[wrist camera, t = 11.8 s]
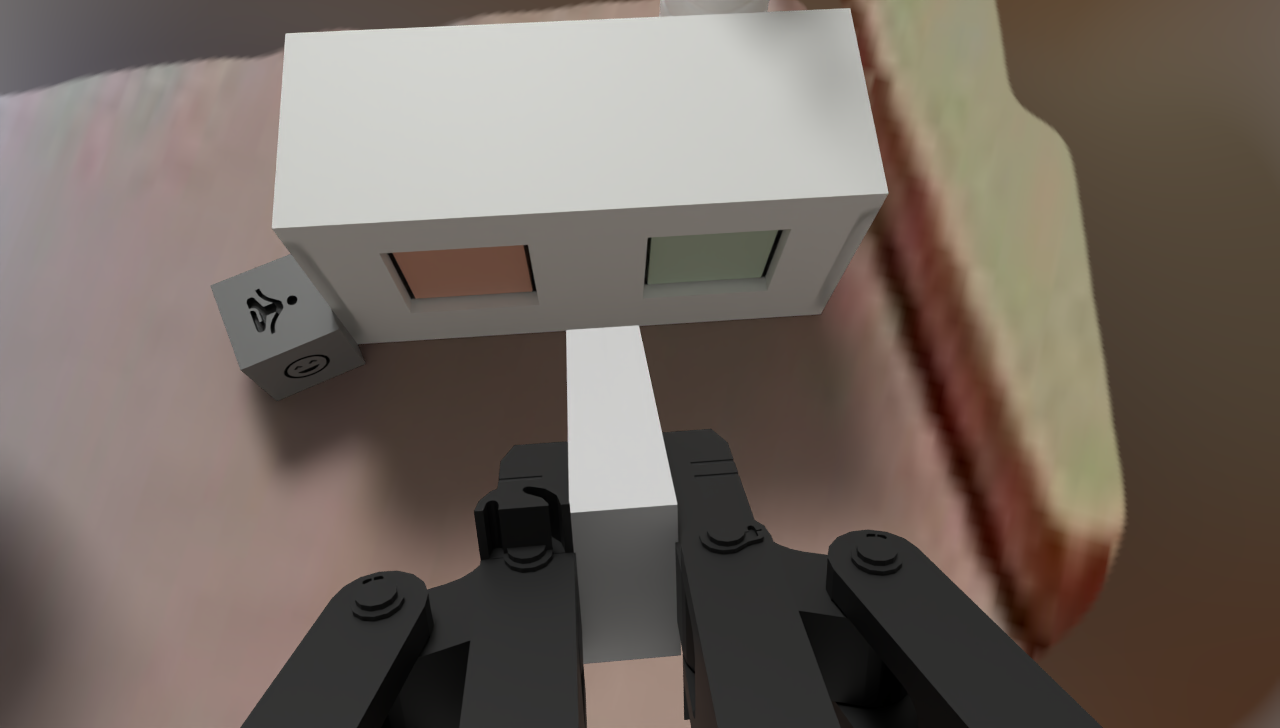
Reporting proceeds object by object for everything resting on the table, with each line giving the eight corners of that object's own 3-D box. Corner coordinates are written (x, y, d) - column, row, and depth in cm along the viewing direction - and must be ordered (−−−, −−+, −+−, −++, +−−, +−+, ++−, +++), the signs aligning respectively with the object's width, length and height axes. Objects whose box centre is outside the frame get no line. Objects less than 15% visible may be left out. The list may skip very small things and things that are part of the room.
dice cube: (249, 324, 49) (210, 285, 44) (335, 289, 49) (306, 247, 45) (277, 401, 47) (240, 370, 42) (365, 364, 48) (339, 329, 43)
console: (357, 344, 48) (271, 228, 36) (362, 187, 52) (285, 33, 40) (820, 314, 50) (888, 193, 38) (795, 163, 53) (850, 8, 41)
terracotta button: (415, 298, 45) (387, 243, 39) (416, 181, 47) (390, 113, 42) (532, 291, 45) (521, 235, 40) (527, 175, 48) (516, 106, 42)
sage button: (647, 284, 46) (652, 227, 40) (636, 169, 48) (640, 100, 42) (761, 277, 46) (781, 220, 40) (744, 163, 48) (762, 94, 43)
